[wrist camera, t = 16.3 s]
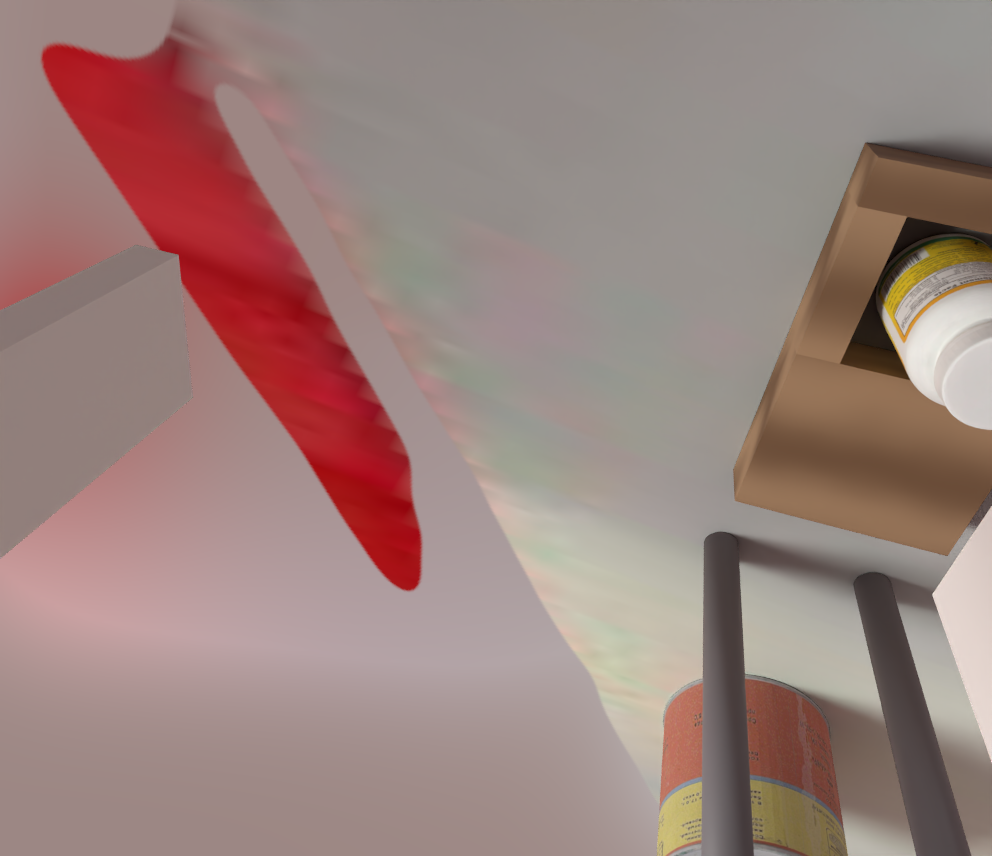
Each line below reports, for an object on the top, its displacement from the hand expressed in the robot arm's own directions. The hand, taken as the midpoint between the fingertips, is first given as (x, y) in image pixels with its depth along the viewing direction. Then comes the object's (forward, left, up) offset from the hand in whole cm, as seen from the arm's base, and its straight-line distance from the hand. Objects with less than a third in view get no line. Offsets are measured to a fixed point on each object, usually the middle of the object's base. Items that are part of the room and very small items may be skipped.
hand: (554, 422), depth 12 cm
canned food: (+38, +17, -27) cm, 50 cm away
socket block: (+8, +15, -27) cm, 31 cm away
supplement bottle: (+5, +15, -27) cm, 31 cm away
